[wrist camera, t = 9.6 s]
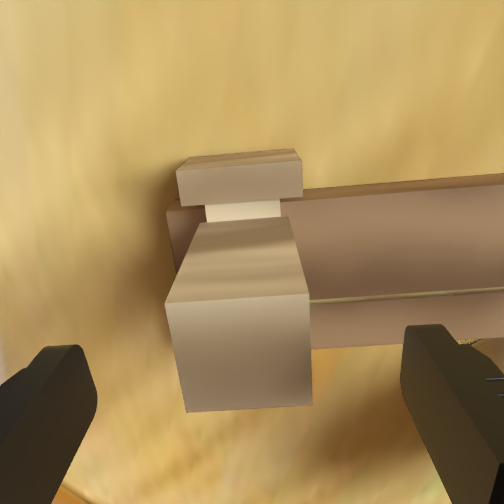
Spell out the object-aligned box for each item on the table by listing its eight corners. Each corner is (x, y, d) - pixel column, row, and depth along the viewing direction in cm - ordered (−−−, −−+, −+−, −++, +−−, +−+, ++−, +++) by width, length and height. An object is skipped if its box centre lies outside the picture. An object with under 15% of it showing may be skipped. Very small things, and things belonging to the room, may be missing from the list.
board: (174, 200, 19) (165, 211, 17) (591, 166, 18) (630, 174, 16) (196, 334, 22) (191, 356, 20) (553, 311, 21) (582, 332, 19)
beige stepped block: (189, 157, 17) (121, 221, 9) (293, 148, 17) (333, 204, 8) (214, 327, 21) (184, 497, 12) (300, 322, 21) (333, 490, 12)
